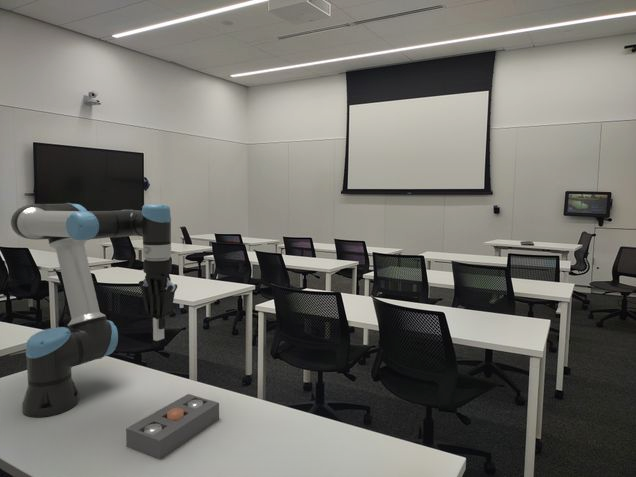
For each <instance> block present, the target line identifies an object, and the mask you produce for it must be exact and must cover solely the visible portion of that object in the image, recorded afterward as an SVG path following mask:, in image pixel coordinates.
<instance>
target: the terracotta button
mask: <svg viewBox="0 0 636 477" xmlns="http://www.w3.org/2000/svg"><path fill="white" fill-rule="evenodd" d="M183 416H184V410H183V409H182V408H173V409H170V410H168V411H167V419H170V420H173V421H177V420H179V419H180V418H182V417H183Z"/></svg>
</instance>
